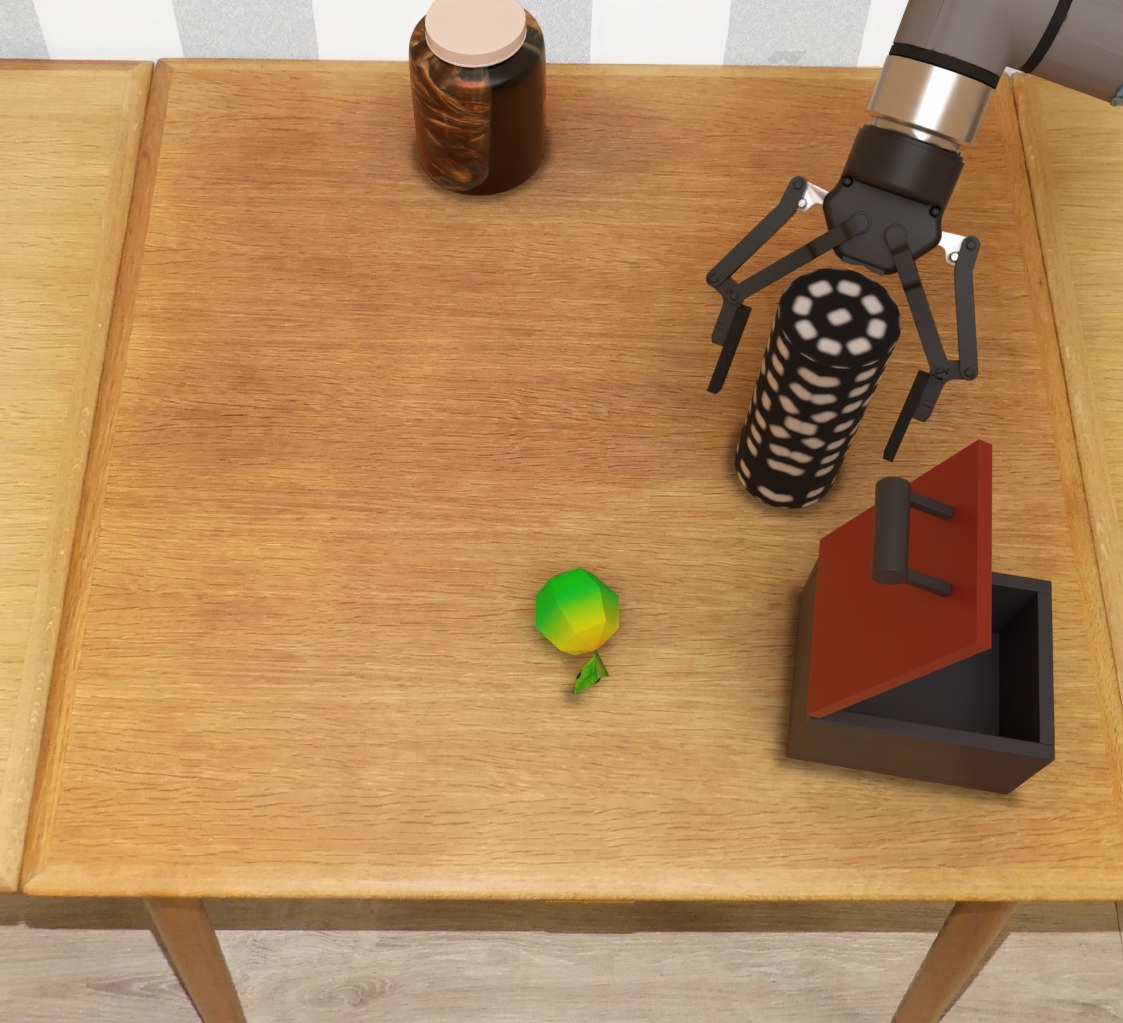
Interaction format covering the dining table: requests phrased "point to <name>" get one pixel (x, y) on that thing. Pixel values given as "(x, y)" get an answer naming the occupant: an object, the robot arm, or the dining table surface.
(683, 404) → the dining table surface
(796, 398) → the spotted tube
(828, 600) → the lid
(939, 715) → the dark storage box
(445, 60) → the jar
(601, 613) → the apple
